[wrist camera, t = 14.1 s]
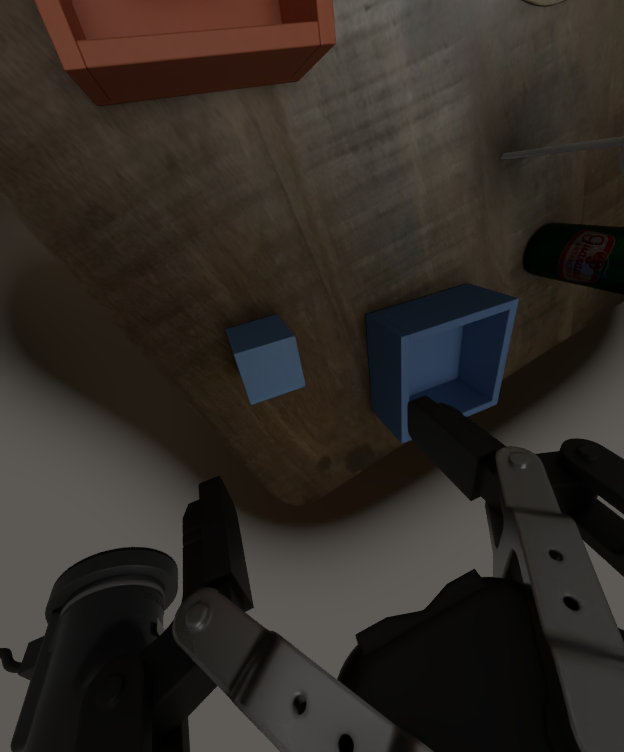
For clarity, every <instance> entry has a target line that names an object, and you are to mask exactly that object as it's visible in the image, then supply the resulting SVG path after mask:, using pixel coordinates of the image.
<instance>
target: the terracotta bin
mask: <svg viewBox="0 0 624 752" xmlns="http://www.w3.org/2000/svg"><path fill="white" fill-rule="evenodd" d="M34 1H35V4H36V6H37V8H38V11H39V13H40V15H41V18H42V20H43V22H44V25H45V27H46V29H47V31H48V34H49V36H50V38H51V41H52V43H53V45H54V48H55V50H56V52H57V55H58V57H59V59H60V61H61V64H62V66H63V68H64V70H65V71H66V72H67V73H68V74H69V76H70V77H71V78H72V79H73V80H74V81H75V82H76V83H77V84H78V85H79V87H80V88H81V89H82V90H83V91H84V92H85V93H86V94H87V95H88V96H89V97H90V99H91V100H92V101H93V102H94V103H95V104H96V105H97V106H102V105H110V104H118V103H126V102H135V101H143V100H151V99H159V98H167V97H175V96H183V95H191V94H199V93H207V92H215V91H223V90H231V89H240V88H248V87H256V86H264V85H272V84H280V83H288V82H296V81H299V80H300V79H301V78H302V77H303V76H304V75H305V74H306V73H307V72H308V71H309V70H310V69H311V68H312V67H313V66H314V65H315V64H316V63H317V62H318V61H319V60H320V59H321V58H322V57H323V56H324V55H325V54H326V53H327V52H328V51H329V50H330V49H331V48H332V47H333V46H334V45H335V44H336V37H335V25H334V13H333V0H34Z"/></svg>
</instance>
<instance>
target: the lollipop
mask: <svg viewBox="0 0 624 752" xmlns="http://www.w3.org/2000/svg"><path fill="white" fill-rule="evenodd" d="M614 146H620V150H619V166H620V170H621V174H622V175H623V177H624V136H623V137H616V138H609V139H602V140H595V141H588V142H580V143H573V144H566V145H559V146H552V147H545V148H537V149H530V150H523V151H516V152H509V153H503V154H502V156H501V159H502V160H505V159H513V158H522V157H530V156H539V155H547V154H555V153H564V152H572V151H580V150H589V149H597V148H606V147H614Z"/></svg>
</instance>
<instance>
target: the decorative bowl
mask: <svg viewBox="0 0 624 752" xmlns="http://www.w3.org/2000/svg"><path fill="white" fill-rule="evenodd" d="M524 1H527V2H529V3H531V4H535V5H540V6H549V5H553V4H557V3H560V2H563V1H565V0H524Z"/></svg>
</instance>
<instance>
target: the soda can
mask: <svg viewBox="0 0 624 752" xmlns="http://www.w3.org/2000/svg"><path fill="white" fill-rule="evenodd" d="M526 263H527V267H528V269H529V271H530V272H531V273H532V274H533V275H536V276H540V277H545V278H549V279H554V280H559V281H563V282H568V283H572V284H577V285H582V286H586V287H591V288H595V289H600V290H605V291H609V292H614V293H618V294H623V295H624V227H613V226H598V225H582V224H567V223H554V224H551V225H549V226H548V227H546V228H544V229H543V230H542V231H540V232H539V233H538V234H537V235H536V236H535V238H534V239H533V241H532V242H531V244H530V246H529V248H528V251H527V255H526Z"/></svg>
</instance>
